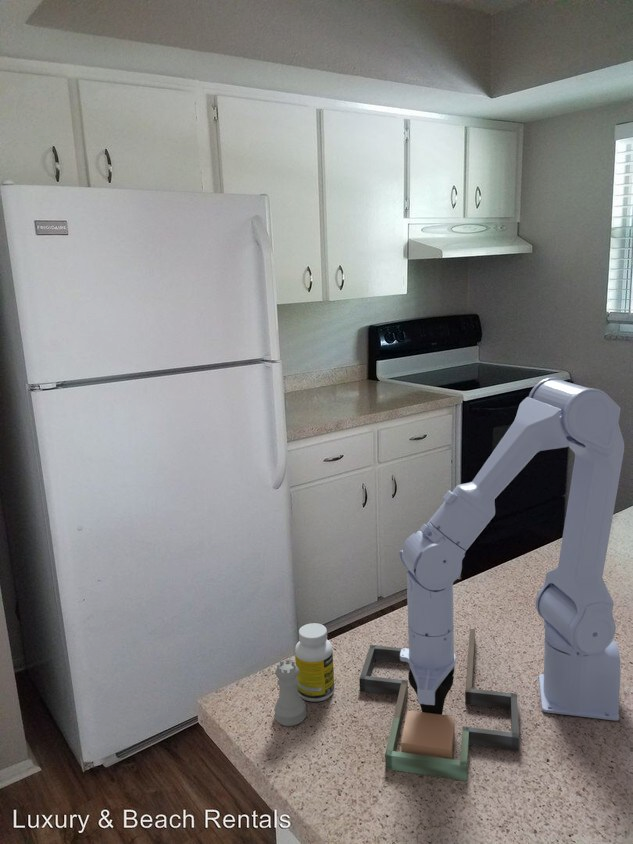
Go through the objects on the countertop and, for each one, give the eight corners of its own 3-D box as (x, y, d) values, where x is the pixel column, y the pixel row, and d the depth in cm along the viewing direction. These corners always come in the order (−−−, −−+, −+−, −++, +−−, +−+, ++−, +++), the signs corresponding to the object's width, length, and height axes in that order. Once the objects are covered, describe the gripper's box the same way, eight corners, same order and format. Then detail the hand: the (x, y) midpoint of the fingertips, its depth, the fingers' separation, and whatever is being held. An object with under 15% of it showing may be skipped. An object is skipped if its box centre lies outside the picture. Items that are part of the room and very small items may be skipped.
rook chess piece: (282, 732, 86) (278, 679, 84) (269, 713, 90) (264, 662, 88) (312, 720, 88) (309, 668, 86) (298, 702, 91) (294, 651, 90)
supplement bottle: (331, 704, 90) (327, 642, 88) (293, 701, 92) (288, 639, 89) (337, 680, 96) (334, 621, 93) (302, 678, 97) (297, 619, 94)
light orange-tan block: (454, 736, 83) (454, 716, 83) (451, 770, 78) (451, 749, 77) (408, 730, 85) (407, 710, 84) (401, 763, 79) (401, 742, 79)
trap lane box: (514, 644, 102) (514, 632, 102) (520, 789, 74) (520, 774, 74) (378, 631, 108) (378, 620, 107) (337, 761, 80) (336, 747, 80)
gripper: (406, 594, 90) (409, 680, 93) (390, 654, 76) (394, 752, 80) (458, 598, 88) (459, 685, 91) (451, 660, 75) (452, 760, 78)
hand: (432, 717), depth 85 cm, fingers closed
